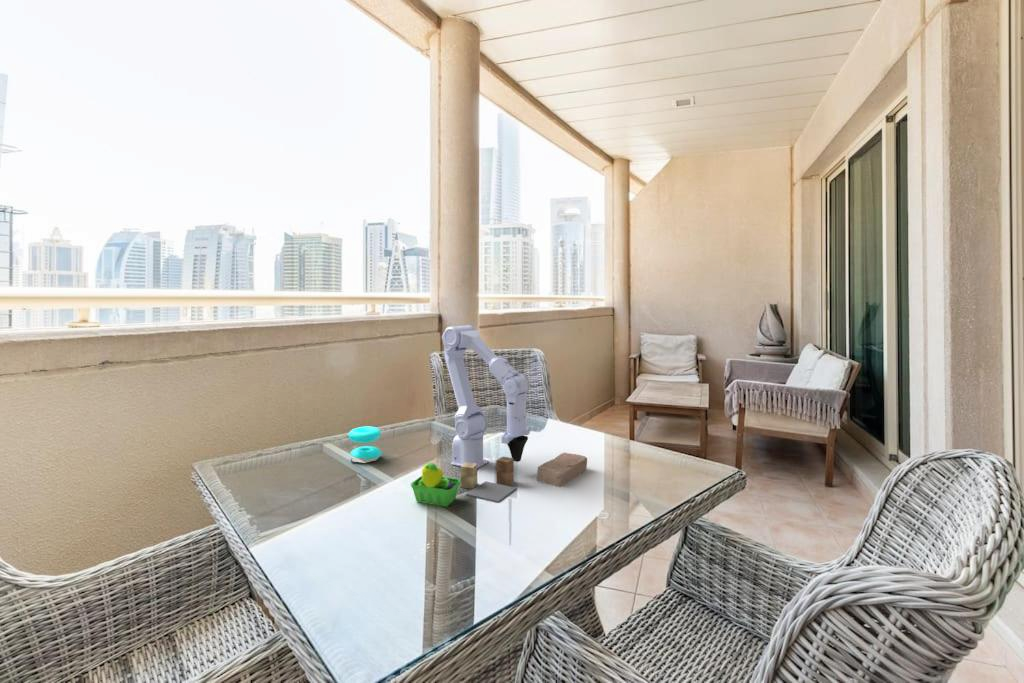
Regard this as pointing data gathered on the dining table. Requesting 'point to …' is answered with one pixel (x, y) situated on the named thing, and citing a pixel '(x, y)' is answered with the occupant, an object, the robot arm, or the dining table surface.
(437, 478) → the fruit basket
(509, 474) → the walnut block
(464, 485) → the oak block
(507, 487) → the mat
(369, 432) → the donuts
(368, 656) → the dining table surface
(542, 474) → the brick
